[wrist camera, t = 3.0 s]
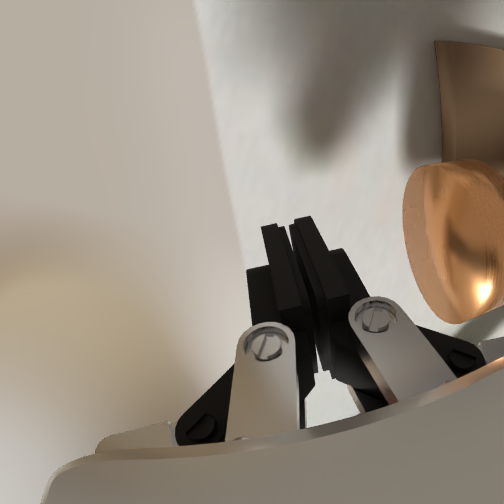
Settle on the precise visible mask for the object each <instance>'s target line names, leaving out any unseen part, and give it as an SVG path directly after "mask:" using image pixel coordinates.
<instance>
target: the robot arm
mask: <svg viewBox="0 0 504 504" xmlns="http://www.w3.org/2000/svg"><path fill="white" fill-rule="evenodd" d="M261 230H262V234H263V239H264V244H265V248H266V253H267V257H268V262H269V265H265V266H261V267H256V268H252V269H247V270H246V274H247V283H248V291H249V300H250V309H251V318H252V327H250V328H249V329H248V330H246V331H245V332H244V333H243V334H242V336H241V337H240V338H239V341H238V344H237V350H236V358H235V363H234V364H233V366H232V367H231V368H230V369H229V370H228V371H227V372H226V373H225V374H224V375H223V376H222V377H221V378H220V379H219V380H218V381H217V382H216V383H215V384H214V385H213V386H212V387H211V388H210V389H209V390H207V392H206V393H204V395H202V396H201V397H200V398H199V399H198V400H197V401H196V402H195V403H194V404H193V405H192V406H191V407H190V408H189V409H188V410H187V411H186V412H185V413H184V414H183V415H182V416H181V417H180V419H179V420H178V421H176V422H173V423H169V421H164V422H161V423H158V424H154V425H150V426H146V427H143V428H139V429H135V430H131V431H127V432H123V433H119V434H114V435H110V436H108V437H106V438H104V439H103V440H102V441H101V442H100V443H99V444H98V446H97V448H96V450H95V454H91V455H88V456H84V457H81V458H79V459H76V460H74V461H71V462H69V463H67V464H65V465H63V466H62V467H60V468H59V469H58V470H57V471H55V472H54V473H53V475H52V476H51V478H50V479H49V481H48V483H47V485H46V488H45V490H44V493H43V497H42V500H41V504H504V337H500V338H495V339H490V340H486V341H480V342H479V344H478V346H475V345H473V344H471V343H469V342H467V341H464V340H461V339H458V338H454V337H451V336H448V335H445V334H442V333H439V332H436V331H433V330H430V329H426V328H423V327H420V326H417V325H415V324H414V323H413V322H412V320H411V319H410V318H409V317H408V315H407V314H406V313H405V312H404V311H403V309H402V308H401V307H400V306H399V305H398V304H397V303H396V302H394V301H392V300H390V299H388V298H385V297H379V296H378V297H370V296H369V294H368V292H367V290H366V288H365V287H364V285H363V283H362V281H361V279H360V277H359V276H358V274H357V272H356V270H355V268H354V267H353V265H352V263H351V261H350V260H349V258H348V256H347V254H346V253H345V251H344V250H343V249H342V248H340V249H336V250H331V251H329V250H328V248H327V246H326V244H325V242H324V240H323V239H322V237H321V235H320V233H319V231H318V229H317V227H316V225H315V223H314V221H313V219H312V218H311V216H307V217H303V218H298V219H294V224H291V225H289V230H290V235H291V241H292V247H293V250H292V247H291V244H290V241H289V238H288V236H287V233H286V230H285V227H284V226H282V227H278V225H277V223H275V224H271V225H266V226H262V227H261ZM315 344H316V346H315ZM316 348H317V351H318V355H319V358H320V362H321V365H322V369H323V371H326V370H330V373H331V377H332V379H334V378H336V379H337V380H338V381H340V382H343V383H345V384H347V387H348V390H349V392H350V394H351V396H352V398H353V400H354V402H355V404H356V406H357V408H358V410H359V412H360V413H361V414H360V415H357V416H353V417H350V418H346V419H342V420H338V421H335V422H331V423H327V424H323V425H318V426H314V427H310V428H307V415H306V399H305V398H306V397H307V395H308V394H309V393H310V391H311V390H312V389H313V387H314V386H315V379H314V373H318V365H317V355H316Z"/></svg>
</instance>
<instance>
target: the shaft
mask: <svg viewBox="0 0 504 504" xmlns="http://www.w3.org/2000/svg"><path fill="white" fill-rule="evenodd" d="M403 230H404V238H405V244H406V249H407V254H408V258H409V262H410V265H411V269H412V272H413V275H414V278H415V280H416V283H417V285H418V287H419V290H420V292H421V294H422V295H423V297H424V299H425V301H426V302H427V304H428V305H429V307H430V308H431V310H432V311H433V312H434V313H435V314H436V315H437V316H438V317H439V318H440V319H442V320H443V321H445V322H447V323H450V324H461V323H463V322H466V321H468V320H470V319H473V318H475V317H478V316H480V315H482V314H485V313H487V312H489V311H491V310H494V309H496V308H498V307H500V306H502V305H504V175H500V174H499V173H498V172H497V171H496V170H495V169H494V168H492V167H491V166H489V165H488V164H486V163H484V162H482V161H479V160H475V159H465V160H457V161H450V162H443V163H436V164H429V165H424V166H421V167H419V168H417V169H416V170H415V171H414V172H413V173H412V175H411V176H410V178H409V180H408V182H407V185H406V188H405V192H404V199H403Z"/></svg>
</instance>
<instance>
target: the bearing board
mask: <svg viewBox="0 0 504 504" xmlns="http://www.w3.org/2000/svg"><path fill="white" fill-rule="evenodd" d="M434 42H435V48H436V56H437V64H438V73H439V83H440V95H441V112H442V163H443V162H450V161H457V160H465V159H475V160H479V161H482V162H484V163H486V164H488V165H489V166H491V167H492V168H494V169H495V170H496V171H497V172H498V173H499V174H500V175H504V49H499V48H493V47H488V46H482V45H475V44H469V43H461V42H453V41H434Z"/></svg>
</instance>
